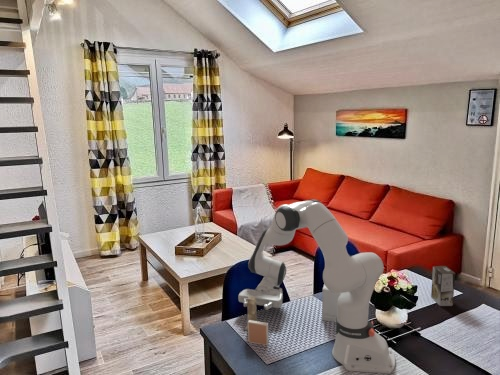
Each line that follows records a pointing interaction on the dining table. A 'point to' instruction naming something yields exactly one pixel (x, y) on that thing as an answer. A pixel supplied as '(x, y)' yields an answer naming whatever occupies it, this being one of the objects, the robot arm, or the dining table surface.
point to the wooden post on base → (251, 309)
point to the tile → (258, 332)
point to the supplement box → (329, 304)
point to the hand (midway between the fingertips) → (255, 306)
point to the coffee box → (443, 285)
